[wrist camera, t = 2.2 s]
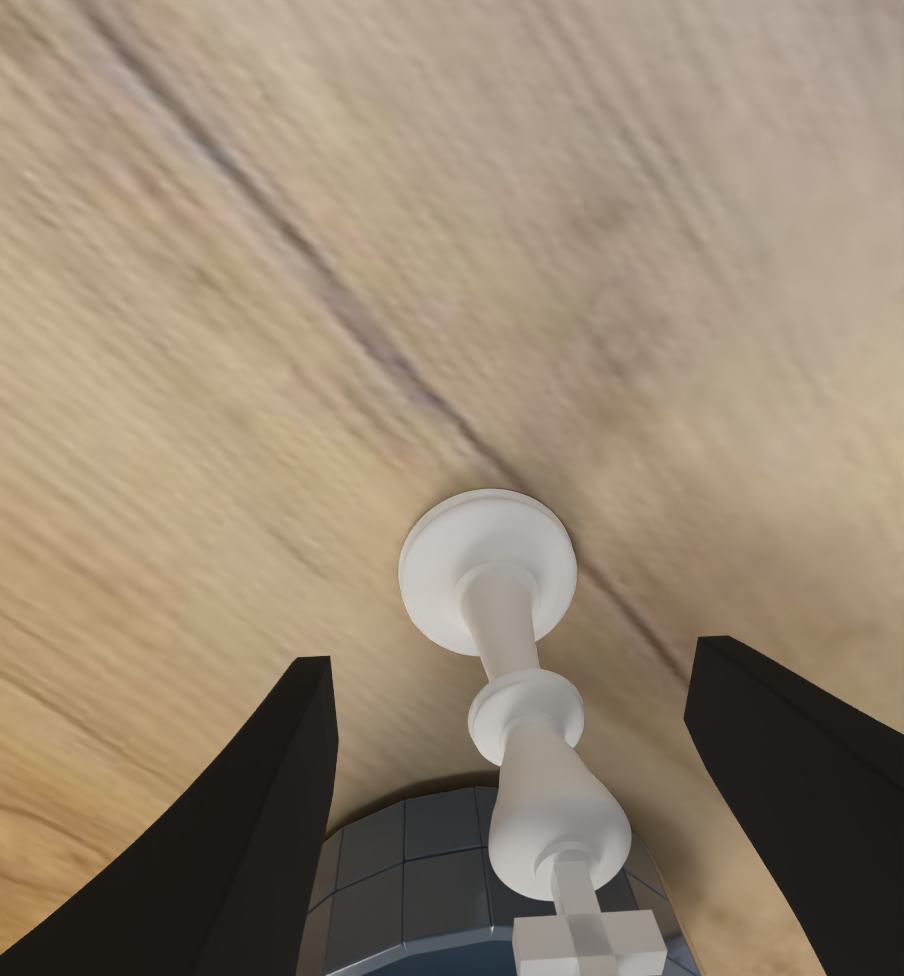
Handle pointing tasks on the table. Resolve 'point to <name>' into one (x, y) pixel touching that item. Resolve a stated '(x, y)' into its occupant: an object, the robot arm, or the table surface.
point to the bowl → (448, 896)
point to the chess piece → (529, 727)
